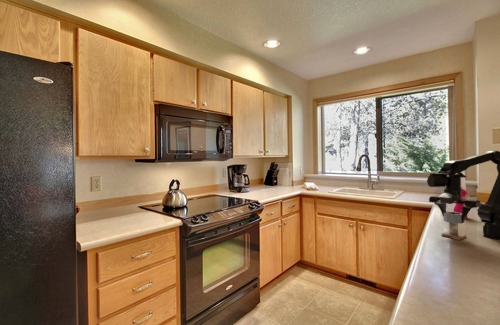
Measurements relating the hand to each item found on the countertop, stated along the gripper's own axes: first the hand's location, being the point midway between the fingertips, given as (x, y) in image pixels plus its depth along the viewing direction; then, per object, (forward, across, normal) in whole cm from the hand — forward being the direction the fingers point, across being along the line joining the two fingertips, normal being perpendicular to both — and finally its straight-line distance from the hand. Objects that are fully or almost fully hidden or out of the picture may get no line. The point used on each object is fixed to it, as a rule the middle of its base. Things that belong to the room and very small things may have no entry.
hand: (453, 219), depth 117 cm
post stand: (+9, 0, 0) cm, 9 cm away
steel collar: (+1, 0, 0) cm, 1 cm away
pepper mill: (+9, -16, +49) cm, 52 cm away
